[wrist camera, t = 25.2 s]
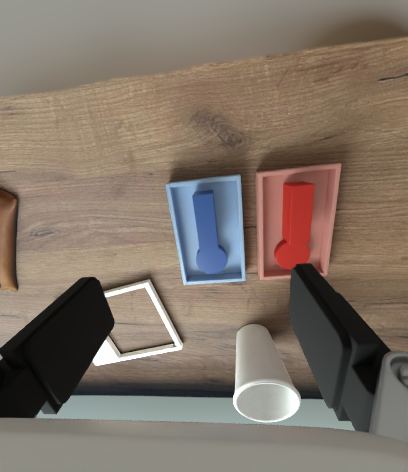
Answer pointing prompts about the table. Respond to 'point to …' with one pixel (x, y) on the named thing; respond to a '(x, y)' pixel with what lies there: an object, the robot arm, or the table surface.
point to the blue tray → (227, 226)
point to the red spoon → (295, 224)
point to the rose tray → (272, 209)
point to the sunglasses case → (8, 240)
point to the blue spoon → (208, 234)
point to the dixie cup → (262, 378)
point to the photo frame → (111, 353)
